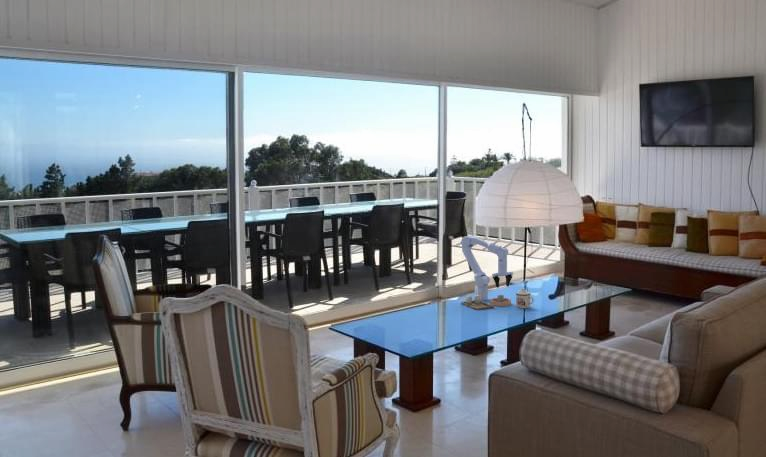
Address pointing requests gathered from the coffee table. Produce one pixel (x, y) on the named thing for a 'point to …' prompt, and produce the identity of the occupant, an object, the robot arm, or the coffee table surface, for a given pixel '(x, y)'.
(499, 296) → the grey rounded cylinder
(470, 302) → the light stone
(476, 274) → the robot arm
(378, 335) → the coffee table surface
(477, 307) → the tray
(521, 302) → the teacup with lid
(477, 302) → the light stone
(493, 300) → the bowl
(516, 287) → the coffee table surface
